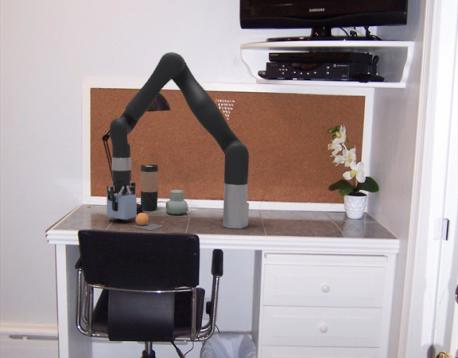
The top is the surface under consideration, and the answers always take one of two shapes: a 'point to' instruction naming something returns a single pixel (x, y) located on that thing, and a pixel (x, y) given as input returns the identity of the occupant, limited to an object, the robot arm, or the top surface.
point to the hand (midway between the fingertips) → (121, 209)
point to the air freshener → (176, 203)
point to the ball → (142, 219)
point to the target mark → (148, 226)
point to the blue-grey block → (123, 207)
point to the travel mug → (149, 187)
